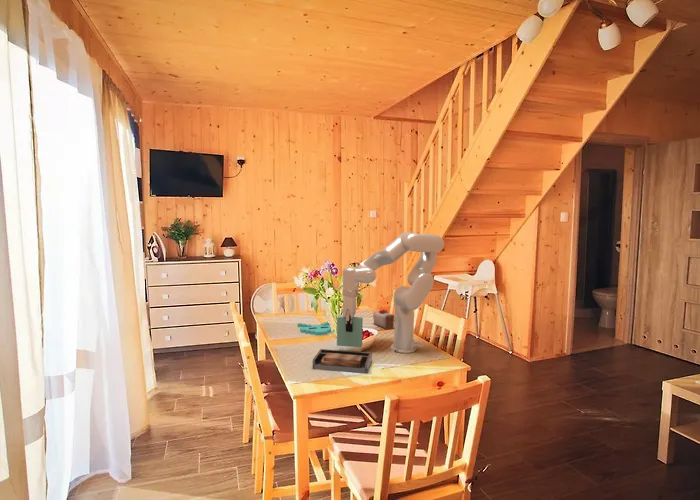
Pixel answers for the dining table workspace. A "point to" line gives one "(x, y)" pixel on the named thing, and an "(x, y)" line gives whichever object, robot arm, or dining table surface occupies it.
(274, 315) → the dining table surface
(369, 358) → the dark grey tray
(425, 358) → the dining table surface
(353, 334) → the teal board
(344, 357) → the top offcut
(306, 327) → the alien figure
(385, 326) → the food item
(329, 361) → the middle offcut
